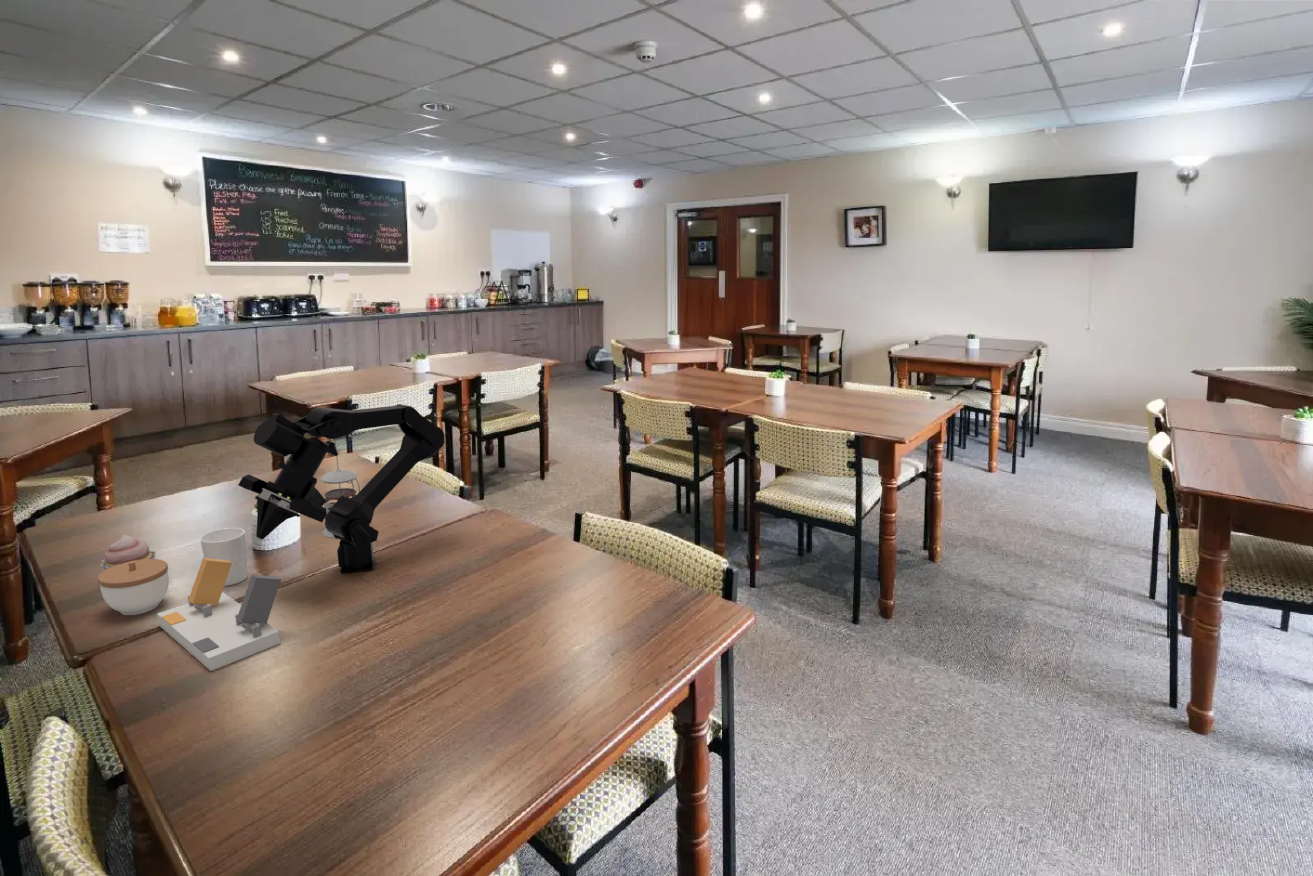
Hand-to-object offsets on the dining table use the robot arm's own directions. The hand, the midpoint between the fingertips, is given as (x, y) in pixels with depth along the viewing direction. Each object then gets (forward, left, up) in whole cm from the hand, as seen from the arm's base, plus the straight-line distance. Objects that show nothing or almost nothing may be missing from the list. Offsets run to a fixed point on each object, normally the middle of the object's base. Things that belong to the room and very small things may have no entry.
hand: (259, 538), depth 136 cm
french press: (-11, -35, -13) cm, 39 cm away
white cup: (+9, -11, -13) cm, 20 cm away
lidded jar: (+22, -2, -13) cm, 26 cm away
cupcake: (+28, -16, -13) cm, 35 cm away
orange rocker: (+9, +7, -10) cm, 16 cm away
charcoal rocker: (-1, +17, -10) cm, 20 cm away
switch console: (+5, +13, -13) cm, 19 cm away
